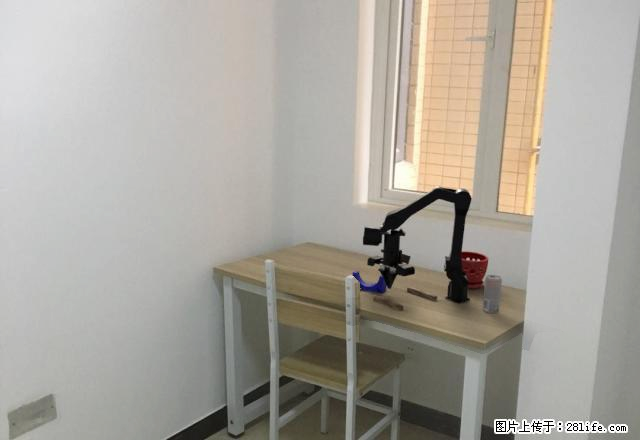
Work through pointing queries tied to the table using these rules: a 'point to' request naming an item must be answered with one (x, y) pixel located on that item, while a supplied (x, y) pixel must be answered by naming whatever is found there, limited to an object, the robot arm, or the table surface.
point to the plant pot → (474, 268)
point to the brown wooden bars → (400, 307)
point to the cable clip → (374, 287)
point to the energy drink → (492, 294)
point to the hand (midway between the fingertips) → (389, 288)
